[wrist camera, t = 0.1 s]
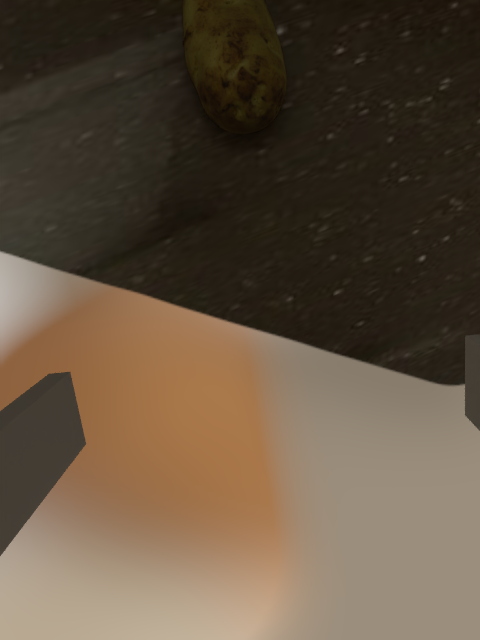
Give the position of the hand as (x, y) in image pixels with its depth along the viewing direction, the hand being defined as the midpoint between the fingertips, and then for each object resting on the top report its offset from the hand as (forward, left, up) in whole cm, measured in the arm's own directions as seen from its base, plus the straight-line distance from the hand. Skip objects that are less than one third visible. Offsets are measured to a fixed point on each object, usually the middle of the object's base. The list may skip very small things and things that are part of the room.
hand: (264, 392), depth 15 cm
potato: (-18, 0, -28) cm, 33 cm away
